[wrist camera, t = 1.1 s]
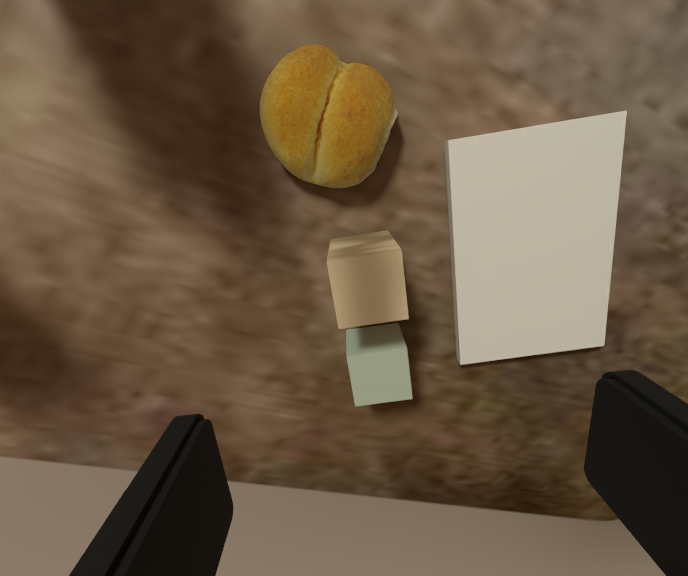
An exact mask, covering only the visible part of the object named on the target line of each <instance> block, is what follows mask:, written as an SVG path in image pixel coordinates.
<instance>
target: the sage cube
mask: <svg viewBox="0 0 688 576" xmlns="http://www.w3.org/2000/svg"><path fill="white" fill-rule="evenodd" d="M346 349H347V362H348V367H349V373H350V379H351V385H352V390H353V396H354V402H355V406H362V405H370V404H377V403H385V402H393V401H401V400H409V399H413V398H412V388H411V379H410V370H409V361H408V352H407V346H406V343H405V341H404V338H403V335H402V332H401V329H400V326H399V323H393V324H386V325H379V326H372V327H365V328H358V329H351V330H346Z"/></svg>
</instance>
